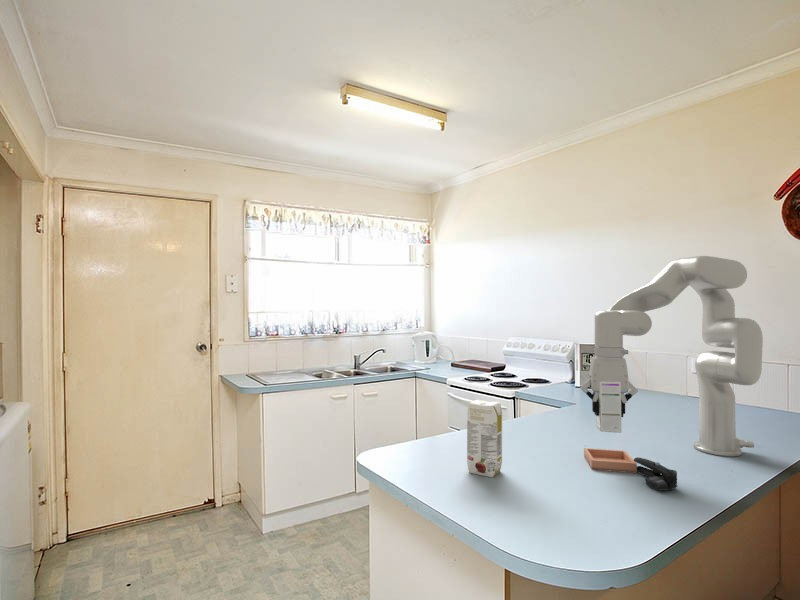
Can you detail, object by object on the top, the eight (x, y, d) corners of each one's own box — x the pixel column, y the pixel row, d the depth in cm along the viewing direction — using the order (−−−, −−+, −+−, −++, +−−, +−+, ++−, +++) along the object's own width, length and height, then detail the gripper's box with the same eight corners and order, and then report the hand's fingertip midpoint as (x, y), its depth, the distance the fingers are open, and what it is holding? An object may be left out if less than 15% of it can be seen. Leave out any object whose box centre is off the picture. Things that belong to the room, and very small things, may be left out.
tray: (625, 459, 135) (625, 450, 135) (636, 472, 124) (636, 463, 124) (584, 456, 138) (584, 448, 138) (591, 469, 126) (591, 460, 126)
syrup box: (622, 433, 127) (622, 381, 128) (599, 431, 129) (600, 380, 129) (616, 428, 133) (616, 378, 133) (595, 426, 134) (595, 377, 135)
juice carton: (494, 479, 118) (494, 406, 119) (464, 473, 123) (464, 402, 123) (504, 470, 124) (504, 401, 125) (475, 465, 129) (475, 398, 129)
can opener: (685, 495, 109) (685, 472, 109) (656, 494, 110) (656, 471, 110) (650, 470, 127) (650, 449, 127) (624, 469, 127) (624, 449, 127)
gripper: (636, 352, 133) (637, 414, 133) (575, 351, 137) (575, 411, 136) (644, 355, 126) (645, 420, 125) (579, 353, 130) (579, 416, 129)
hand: (608, 414), depth 131 cm, fingers closed on syrup box, 5 cm apart
